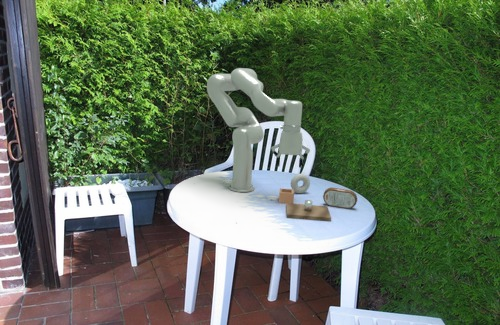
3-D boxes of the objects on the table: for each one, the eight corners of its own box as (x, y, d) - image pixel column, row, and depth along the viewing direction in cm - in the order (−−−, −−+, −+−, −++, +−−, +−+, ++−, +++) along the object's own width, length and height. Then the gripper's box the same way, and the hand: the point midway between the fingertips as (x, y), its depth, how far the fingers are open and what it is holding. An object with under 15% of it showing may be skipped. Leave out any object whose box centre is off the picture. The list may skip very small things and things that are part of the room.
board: (286, 217, 160) (287, 214, 160) (286, 206, 173) (286, 203, 173) (330, 221, 159) (331, 217, 158) (326, 209, 172) (327, 206, 172)
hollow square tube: (278, 202, 177) (279, 192, 176) (279, 198, 184) (279, 188, 182) (293, 204, 177) (293, 193, 176) (292, 199, 183) (293, 189, 182)
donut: (307, 191, 196) (309, 172, 194) (310, 194, 193) (312, 174, 191) (288, 192, 194) (290, 172, 192) (291, 194, 191) (292, 174, 188)
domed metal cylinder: (304, 211, 164) (305, 202, 163) (303, 208, 167) (304, 199, 167) (311, 211, 164) (312, 202, 163) (311, 209, 167) (312, 200, 166)
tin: (356, 208, 176) (358, 190, 174) (355, 210, 173) (357, 192, 171) (322, 203, 181) (324, 185, 179) (321, 205, 178) (323, 187, 176)
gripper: (272, 129, 169) (269, 167, 173) (312, 131, 168) (309, 169, 172) (272, 126, 177) (270, 163, 181) (310, 128, 176) (307, 165, 180)
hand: (289, 166), depth 176 cm, fingers open, 9 cm apart
